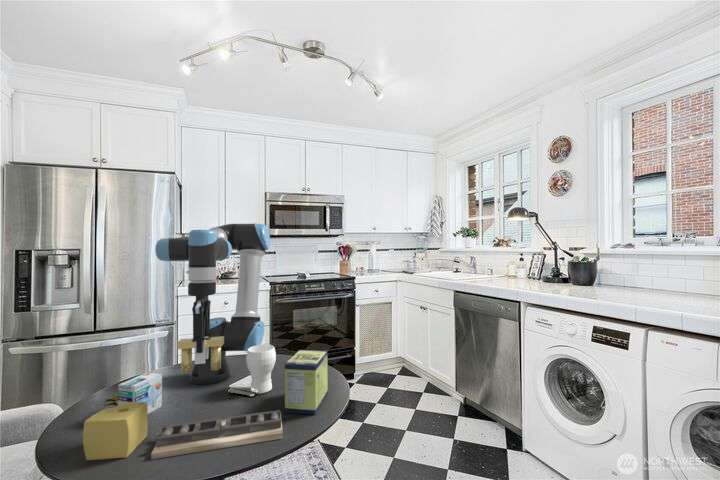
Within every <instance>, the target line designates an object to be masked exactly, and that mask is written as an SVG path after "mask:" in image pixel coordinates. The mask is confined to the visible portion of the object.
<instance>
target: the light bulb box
mask: <svg viewBox="0 0 720 480" xmlns="http://www.w3.org/2000/svg"><path fill="white" fill-rule="evenodd" d="M117 389H118V390H117V394H118V404H117V406H118V405H120V404H122V403H127V402H147V407H148V415H149V414H150V413H152V412H154V411H157V410H158V409H160V408H161V407H163V405H162V404H163V373H153V372H144V373H142V374H140V375H138V376H137V375H136V377H133V378H131V379H128V380H126V381H123V382H121V383H119V384H118V385H117Z"/></svg>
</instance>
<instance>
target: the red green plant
mask: <svg viewBox="0 0 720 480" xmlns="http://www.w3.org/2000/svg"><path fill="white" fill-rule="evenodd" d="M108 400H109V401H108ZM106 401H107V402H106V403H105V404H104V405H105V406H106V405H110V404H114V403H116V405H118V393H116V394H115V395H113V396H111V397H109V398H107V399H106Z"/></svg>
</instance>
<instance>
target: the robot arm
mask: <svg viewBox="0 0 720 480" xmlns="http://www.w3.org/2000/svg"><path fill="white" fill-rule="evenodd" d="M270 247H271V238H270V233H269V229H268V226H267V225H266V224H264V223H255V222H254V223H227V224H224V225H219V226H214V227H211V228H209V229H192V230H190V231H189V233H188V235H184V236H180V237H174V238H173V237H167V238H160V239H159V240H158V241H157V242H156V244H155V248H154V250H155V256H156V257H157V259H158V260H159V261H162V262H188V270H186V272H185V273H186V274H187V275H188V277H187V279H188V280H187V281H189V283H188V284H187V295H188V296H189V297H195V301H194V302H193V304H192V305H193V306H192V308H191V310H192V338H193V340H192V342H195V348H194V361H193V362H192V371H191V372H189V382H190V383H191V384H195V385H210V384H215V383H219V382H221V381H224V380H226V379H228V378H229V377H230V376H231V367H230V363H229V361H228V358H227V354H226V353H227V352H247V351H248V349H249V348H250V347H253V346H257V345H262V343H263V340H264V335H265V322H264V321H262V320H261V318H262V317H261V315H260V314H259V313H258V309H259V308H258V307H259V306H258V305H259V294H260V293H259V291H260V277H261V265H262V258H263V257H264V256H265V255H266V251H267V250H268V251H269V250H270ZM233 251H237V255H239V256H240V259H239V260H240V262H239V269H238V270H239V272H238V281H237V282H238V283H237V294H236V302H235V303H236V305H235V312H234V313H233V314H232V315H231V317H230V321H227V318H226V317H224V316H222V317H220V316H219V317H213V318H211V304H212V301H211V300H209V296H211V295H212V296H213V295H215V294H216V293H217V283H216V280H217V262H222V261H225V260H226V259H228V258H229V257H230V256H231V255H232V253H233ZM221 336H224V344H223V346H221V369H219V370H211V347H205V344H206V340H205V338H207V337H221Z"/></svg>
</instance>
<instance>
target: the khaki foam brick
mask: <svg viewBox="0 0 720 480" xmlns="http://www.w3.org/2000/svg"><path fill="white" fill-rule="evenodd" d="M192 340H193V337H192V338H191V337H190V338H180V339H179V340H178V341H177V350H181V351H180V361H181V362H180V373H182V374H186V373H187V374H188V373H190V372H191V371H192V366H193V349H195V342H192ZM205 340H206V344H205V347H211V370H219V369H221V346H223V344H224V336H221V337H207V338H205Z"/></svg>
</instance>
